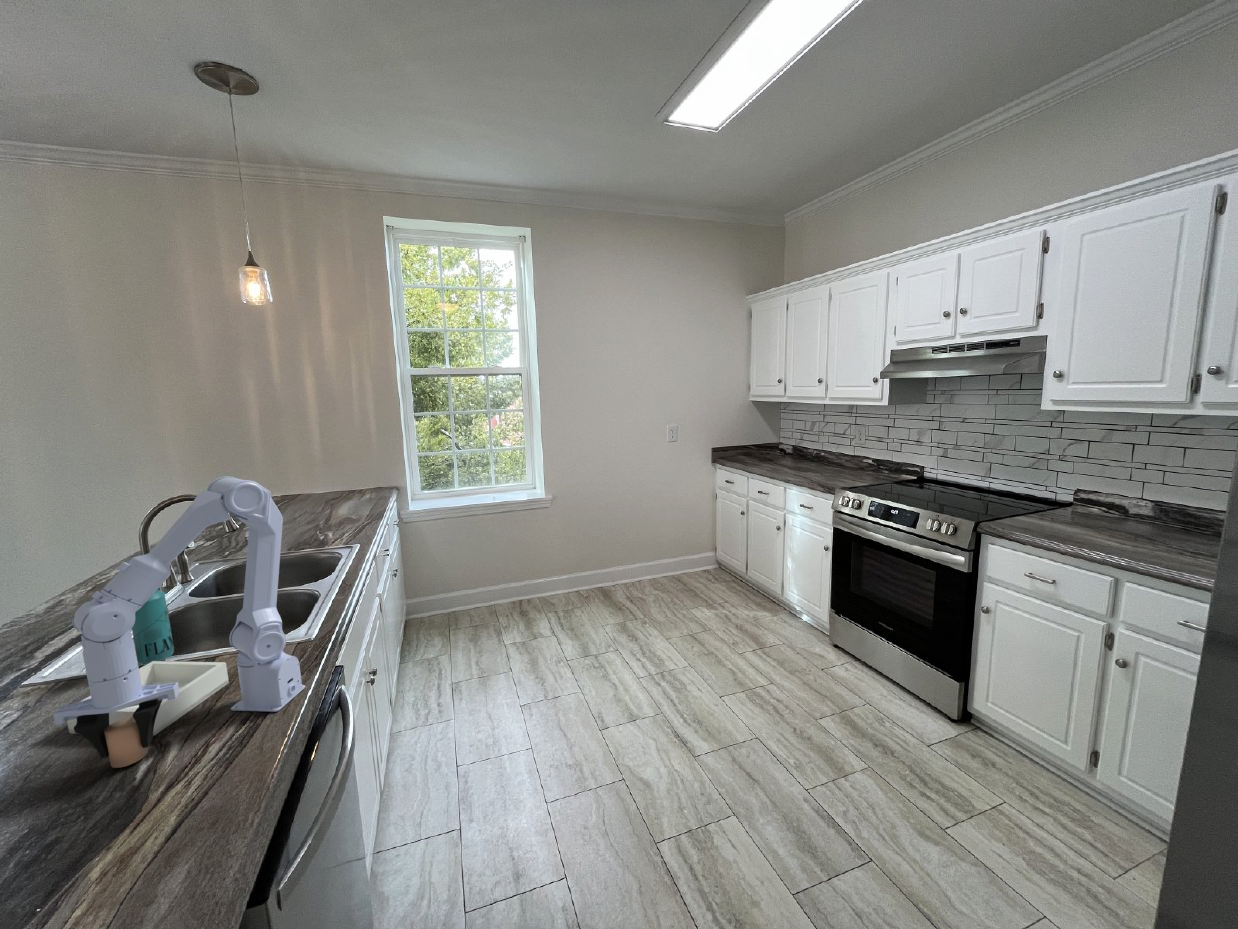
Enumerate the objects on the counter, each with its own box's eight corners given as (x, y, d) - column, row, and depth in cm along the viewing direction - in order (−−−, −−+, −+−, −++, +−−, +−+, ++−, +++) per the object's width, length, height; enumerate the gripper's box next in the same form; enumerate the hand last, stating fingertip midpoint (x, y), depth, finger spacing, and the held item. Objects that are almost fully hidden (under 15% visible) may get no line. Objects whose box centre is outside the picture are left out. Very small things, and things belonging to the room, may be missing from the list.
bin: (228, 683, 104) (225, 662, 104) (154, 736, 89) (149, 712, 88) (156, 681, 105) (152, 661, 105) (69, 733, 90) (64, 710, 89)
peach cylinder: (155, 748, 84) (149, 716, 84) (128, 768, 80) (122, 734, 79) (130, 748, 85) (124, 715, 84) (102, 767, 80) (96, 733, 79)
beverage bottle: (143, 674, 108) (127, 585, 105) (132, 665, 112) (117, 579, 109) (181, 660, 114) (167, 575, 111) (170, 652, 117) (156, 570, 114)
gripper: (180, 649, 87) (191, 720, 89) (64, 671, 80) (80, 747, 83) (165, 669, 80) (178, 746, 83) (38, 695, 74) (56, 777, 76)
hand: (128, 748), depth 82 cm, fingers closed on peach cylinder, 4 cm apart
